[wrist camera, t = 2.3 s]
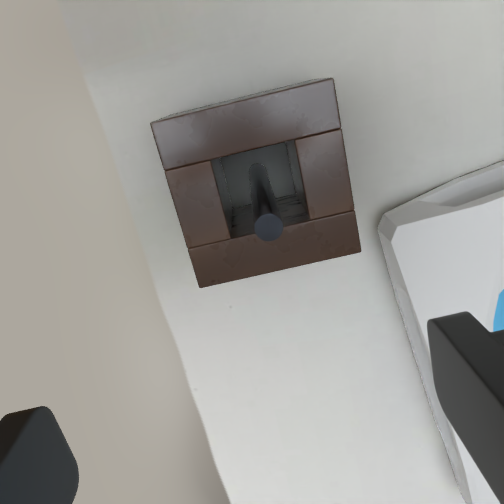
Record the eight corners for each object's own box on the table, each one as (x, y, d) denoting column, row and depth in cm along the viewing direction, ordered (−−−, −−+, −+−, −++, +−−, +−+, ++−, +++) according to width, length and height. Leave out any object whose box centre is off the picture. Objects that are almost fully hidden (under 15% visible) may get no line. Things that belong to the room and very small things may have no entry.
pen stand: (169, 115, 30) (149, 122, 24) (313, 79, 30) (333, 77, 23) (207, 249, 34) (199, 288, 27) (337, 219, 33) (361, 252, 27)
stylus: (244, 168, 32) (248, 226, 19) (258, 157, 31) (271, 207, 18) (255, 181, 32) (266, 247, 19) (269, 170, 32) (289, 229, 19)
